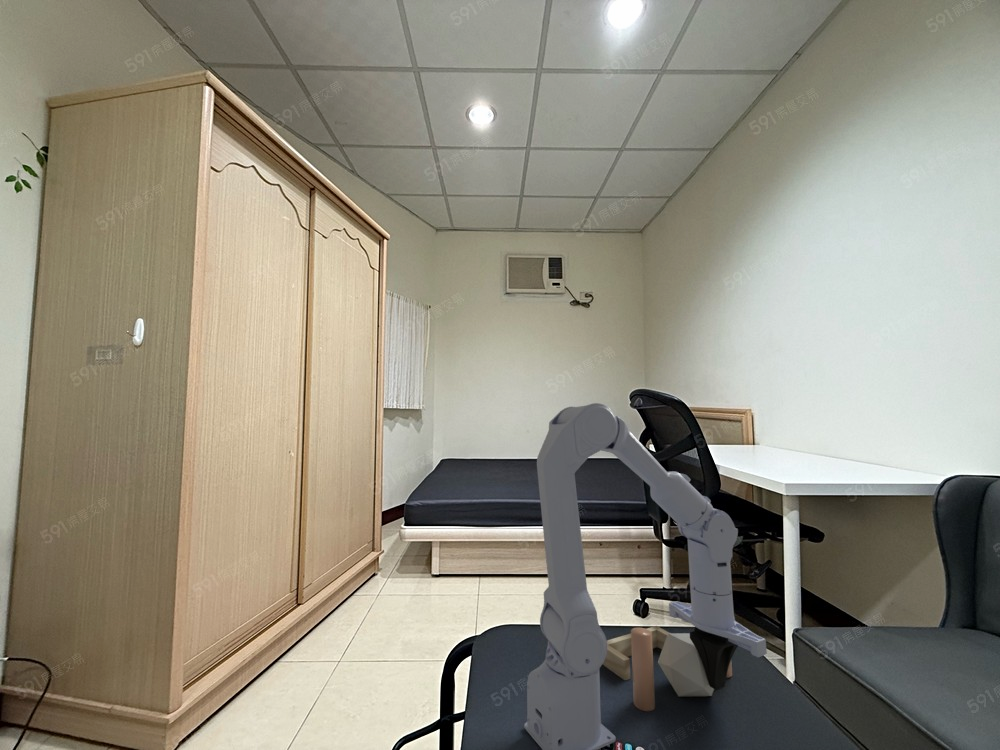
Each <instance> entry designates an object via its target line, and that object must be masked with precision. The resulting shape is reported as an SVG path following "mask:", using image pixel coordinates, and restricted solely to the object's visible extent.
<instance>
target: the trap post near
mask: <svg viewBox="0 0 1000 750" xmlns="http://www.w3.org/2000/svg"><path fill="white" fill-rule="evenodd" d="M630 633H631V645H632V655H631V663H632V665H631V667H632V668H631V669H632V670H631V672H632V693H633V705H634V706H635V707H636V708H637V709H639V710H640V711H645V712H651V711H652V712H653V711H654V710H655V709H656V698H655V675H654V654H653V653H654V652H653V651H654V650H653V649H654V648H652V633H651V631H649V630H647V628H643V627H633V628H632V629H631V630H630Z"/></svg>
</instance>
